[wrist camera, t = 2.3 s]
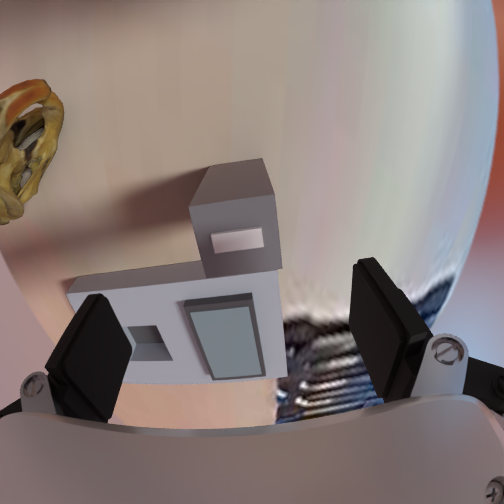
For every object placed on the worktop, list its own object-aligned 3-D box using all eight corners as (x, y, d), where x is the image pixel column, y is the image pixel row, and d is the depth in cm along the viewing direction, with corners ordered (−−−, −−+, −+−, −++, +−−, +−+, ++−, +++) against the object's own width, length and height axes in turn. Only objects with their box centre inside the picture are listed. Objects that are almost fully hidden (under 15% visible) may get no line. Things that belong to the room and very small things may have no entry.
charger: (262, 158, 21) (275, 195, 13) (268, 207, 23) (282, 270, 14) (209, 166, 21) (187, 208, 13) (218, 214, 23) (205, 280, 15)
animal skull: (124, 93, 15) (1, 183, 9) (62, 189, 24) (1, 258, 18) (56, 19, 10) (-64, 78, 4) (15, 133, 20) (-49, 192, 14)
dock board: (273, 251, 24) (278, 277, 21) (284, 356, 31) (288, 383, 28) (78, 276, 25) (60, 300, 22) (127, 365, 32) (119, 389, 29)
